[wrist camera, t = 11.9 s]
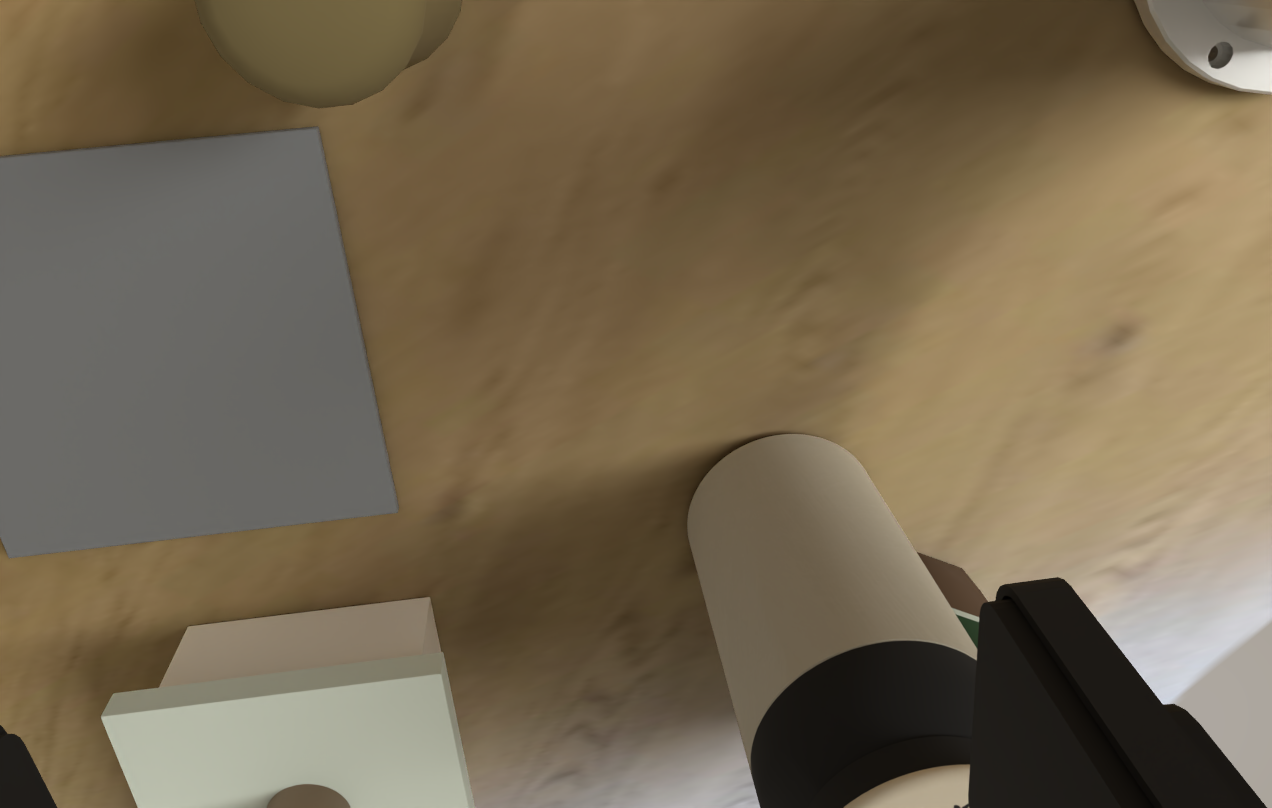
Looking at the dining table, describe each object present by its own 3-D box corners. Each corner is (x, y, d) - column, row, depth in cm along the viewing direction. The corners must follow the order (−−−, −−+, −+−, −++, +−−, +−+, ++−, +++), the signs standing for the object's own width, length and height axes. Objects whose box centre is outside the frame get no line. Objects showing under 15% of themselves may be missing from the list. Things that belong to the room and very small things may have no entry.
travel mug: (696, 426, 40) (816, 771, 24) (888, 432, 41) (1128, 766, 25) (676, 590, 43) (768, 990, 27) (853, 592, 44) (1044, 977, 28)
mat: (318, 126, 33) (316, 128, 33) (398, 507, 40) (397, 512, 40) (-148, 170, 32) (-156, 172, 32) (13, 552, 39) (8, 558, 39)
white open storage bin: (429, 596, 42) (418, 677, 37) (465, 771, 46) (459, 861, 42) (187, 626, 41) (147, 712, 37) (247, 800, 46) (217, 895, 41)
